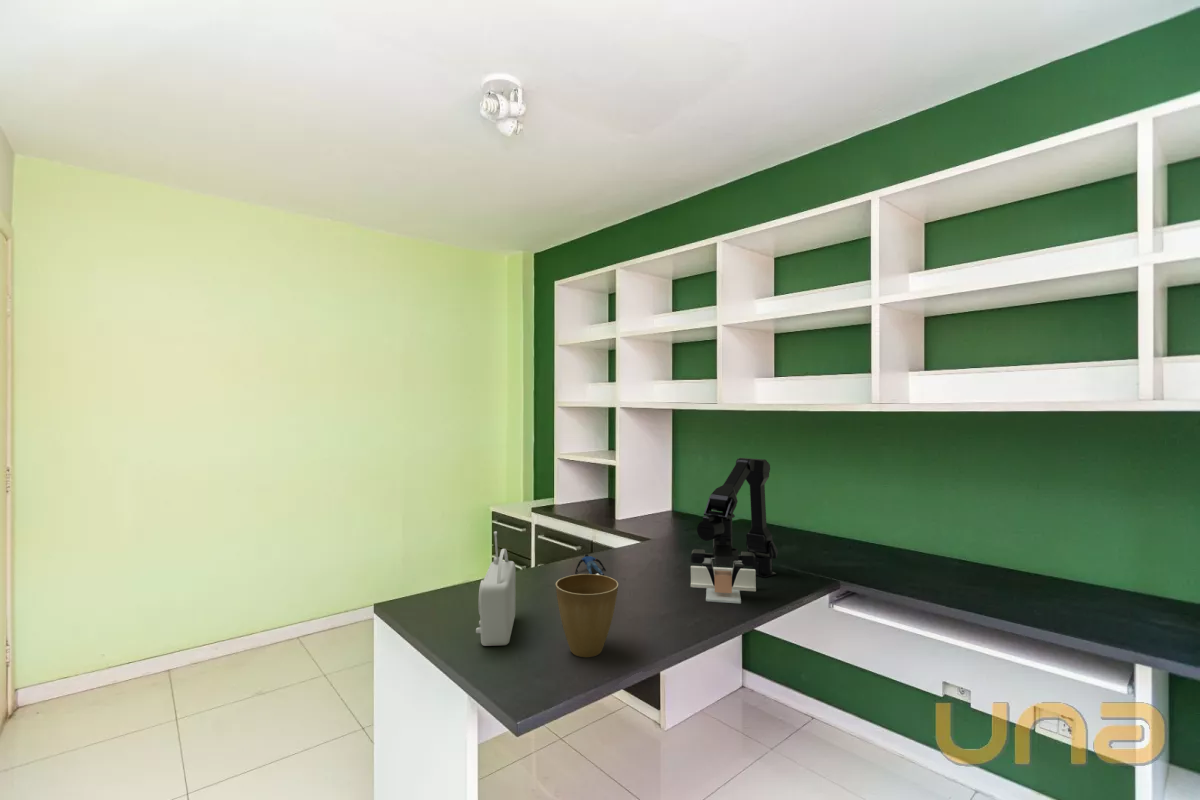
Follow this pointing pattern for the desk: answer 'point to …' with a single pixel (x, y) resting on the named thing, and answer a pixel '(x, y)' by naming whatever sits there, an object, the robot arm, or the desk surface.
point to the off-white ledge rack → (743, 579)
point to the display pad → (723, 596)
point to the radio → (497, 601)
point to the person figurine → (591, 564)
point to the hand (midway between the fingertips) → (723, 585)
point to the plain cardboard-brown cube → (723, 581)
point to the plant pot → (586, 611)
